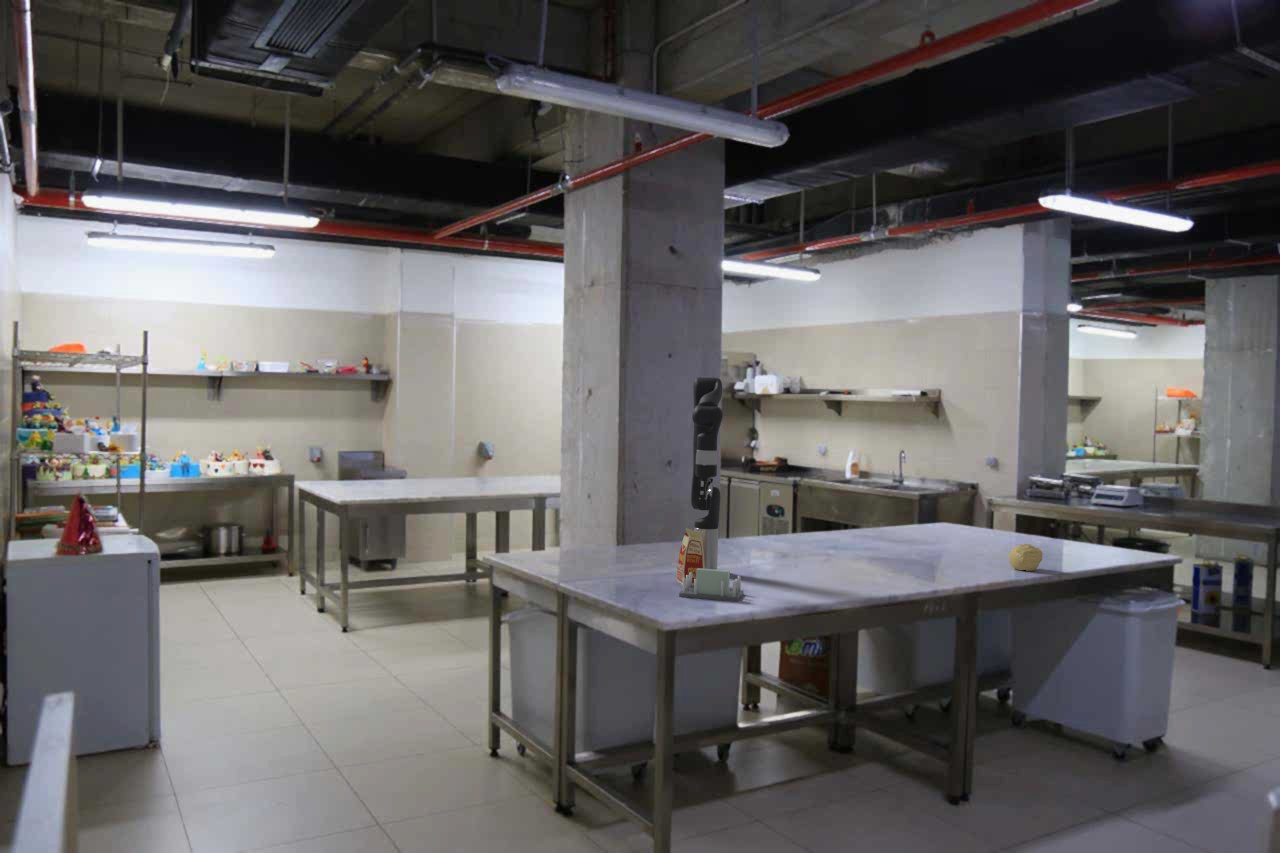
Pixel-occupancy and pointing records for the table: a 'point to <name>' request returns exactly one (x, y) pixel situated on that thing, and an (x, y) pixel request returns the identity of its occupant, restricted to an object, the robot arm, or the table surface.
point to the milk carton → (690, 555)
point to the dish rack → (692, 593)
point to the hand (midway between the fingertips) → (705, 508)
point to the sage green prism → (712, 581)
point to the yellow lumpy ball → (1025, 557)
